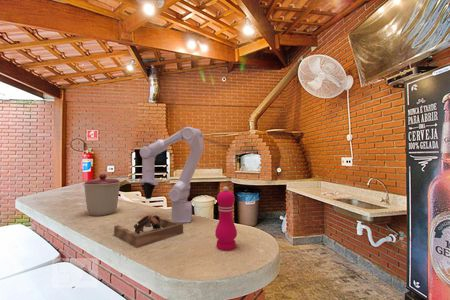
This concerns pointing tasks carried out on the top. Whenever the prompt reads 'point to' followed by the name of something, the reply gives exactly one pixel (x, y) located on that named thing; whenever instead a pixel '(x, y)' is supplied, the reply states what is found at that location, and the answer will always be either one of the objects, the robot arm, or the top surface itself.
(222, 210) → the pepper mill
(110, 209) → the canister
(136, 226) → the brown ring with stem
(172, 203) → the robot arm
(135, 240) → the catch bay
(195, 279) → the top surface
